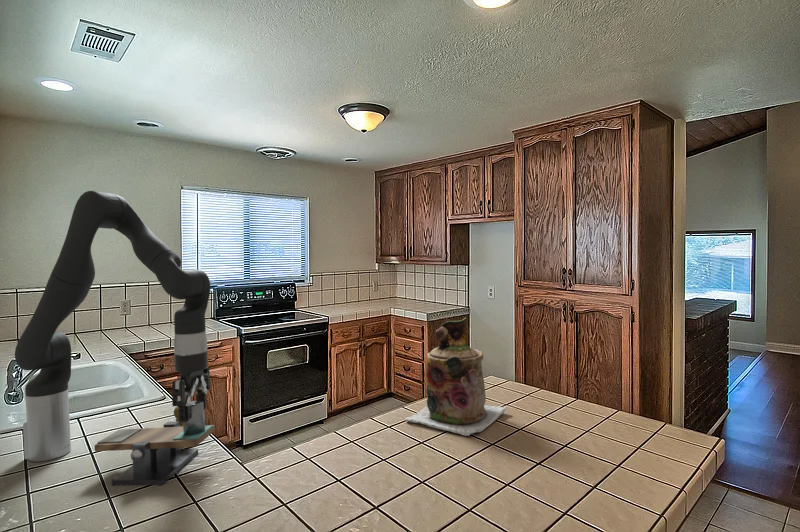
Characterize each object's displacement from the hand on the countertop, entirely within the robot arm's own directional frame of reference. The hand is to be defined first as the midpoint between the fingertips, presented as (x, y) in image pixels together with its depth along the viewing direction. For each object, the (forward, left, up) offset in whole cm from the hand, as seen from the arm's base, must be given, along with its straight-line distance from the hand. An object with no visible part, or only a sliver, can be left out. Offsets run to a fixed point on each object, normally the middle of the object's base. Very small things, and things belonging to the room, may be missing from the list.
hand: (193, 415), depth 114 cm
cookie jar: (+68, +34, -14) cm, 77 cm away
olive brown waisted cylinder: (-10, +15, -14) cm, 23 cm away
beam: (-9, 0, -6) cm, 11 cm away
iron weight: (0, 0, -4) cm, 4 cm away
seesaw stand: (-9, 0, -13) cm, 16 cm away
